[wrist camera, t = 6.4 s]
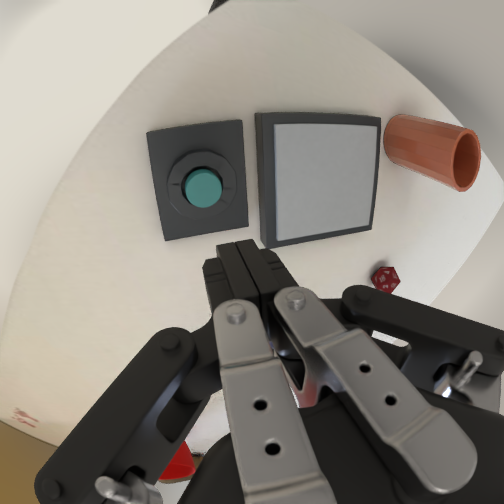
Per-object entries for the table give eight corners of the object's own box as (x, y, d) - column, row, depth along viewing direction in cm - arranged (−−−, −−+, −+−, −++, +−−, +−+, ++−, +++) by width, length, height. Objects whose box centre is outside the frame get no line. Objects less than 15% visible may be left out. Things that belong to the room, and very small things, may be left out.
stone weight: (167, 467, 56) (170, 486, 50) (150, 461, 52) (153, 483, 46) (210, 455, 56) (216, 477, 50) (195, 450, 52) (201, 473, 46)
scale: (254, 113, 22) (263, 113, 20) (369, 116, 25) (384, 118, 23) (260, 240, 29) (268, 252, 27) (362, 223, 32) (374, 231, 30)
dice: (392, 261, 37) (409, 276, 33) (377, 286, 38) (393, 302, 35) (377, 257, 35) (394, 272, 32) (362, 283, 37) (377, 300, 34)
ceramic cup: (201, 407, 42) (213, 456, 33) (178, 441, 47) (185, 480, 39) (128, 398, 36) (130, 452, 28) (119, 435, 42) (122, 476, 33)
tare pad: (147, 131, 21) (144, 134, 18) (238, 119, 22) (247, 120, 20) (165, 235, 26) (164, 249, 23) (245, 221, 27) (253, 233, 25)
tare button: (182, 171, 21) (183, 176, 19) (217, 166, 21) (220, 170, 20) (187, 204, 22) (188, 210, 21) (220, 198, 23) (223, 204, 21)
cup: (384, 111, 25) (454, 124, 17) (419, 117, 26) (483, 133, 18) (381, 165, 28) (446, 193, 20) (416, 165, 30) (475, 190, 21)
